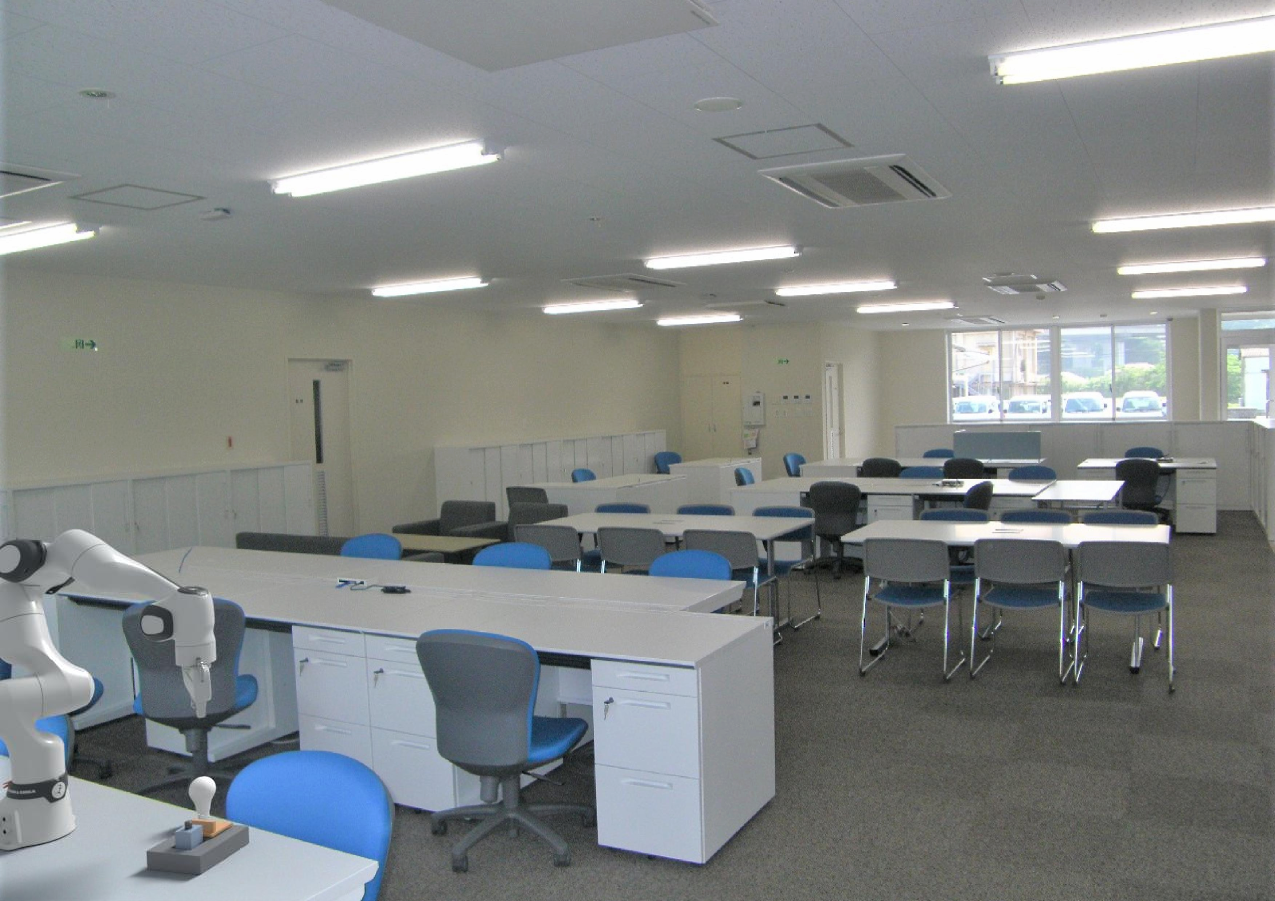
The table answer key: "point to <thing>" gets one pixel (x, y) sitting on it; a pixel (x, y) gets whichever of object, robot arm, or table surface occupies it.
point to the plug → (188, 836)
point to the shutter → (211, 826)
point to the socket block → (197, 852)
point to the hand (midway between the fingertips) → (198, 712)
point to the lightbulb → (202, 795)
